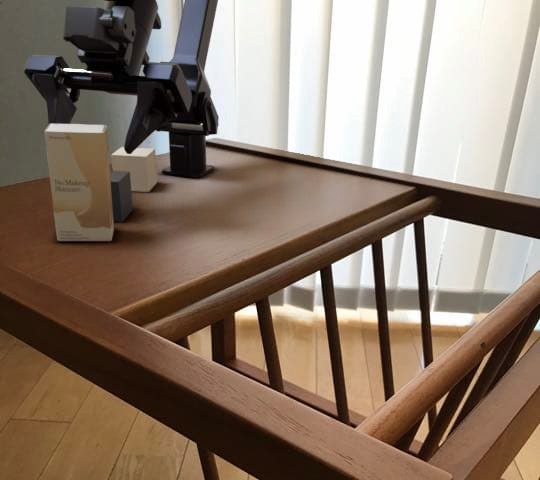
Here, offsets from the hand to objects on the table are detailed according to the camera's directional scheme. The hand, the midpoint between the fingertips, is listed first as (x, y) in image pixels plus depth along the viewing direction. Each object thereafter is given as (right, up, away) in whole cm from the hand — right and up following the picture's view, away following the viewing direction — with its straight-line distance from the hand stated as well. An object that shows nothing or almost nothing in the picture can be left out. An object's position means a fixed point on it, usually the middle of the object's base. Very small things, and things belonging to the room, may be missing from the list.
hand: (89, 148), depth 71 cm
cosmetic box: (-1, -10, +3) cm, 10 cm away
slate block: (0, -5, +10) cm, 11 cm away
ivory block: (+1, +2, +21) cm, 21 cm away
